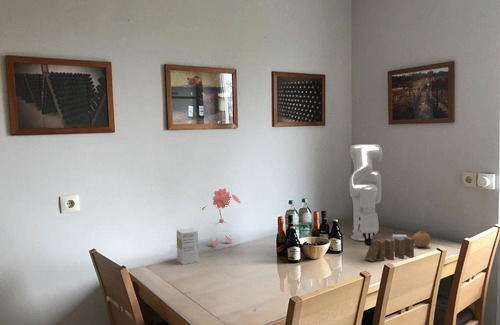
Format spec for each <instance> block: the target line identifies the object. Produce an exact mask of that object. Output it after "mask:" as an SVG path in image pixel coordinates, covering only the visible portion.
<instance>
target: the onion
mask: <svg viewBox="0 0 500 325" xmlns="http://www.w3.org/2000/svg"><path fill="white" fill-rule="evenodd" d="M412 238H413V239H414V246H416V247H418V248H424V247H427V246H429V245H430V244H431V236H430V235H429V234H428V233H427V232H425V231H424V230H419V231H417V232H415V233H414V234H413V236H412Z"/></svg>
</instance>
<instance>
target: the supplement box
mask: <svg viewBox="0 0 500 325" xmlns="http://www.w3.org/2000/svg"><path fill="white" fill-rule="evenodd" d="M176 251H177V252H176V256H177V259H176V260H177V261H178V262H179V263H180V264H182V265H187V264H193V263H199V262H200V261H199V260H200V259H199V232H198V230H196V229H194V228H193V227H190V228H182V229H177V230H176Z"/></svg>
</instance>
